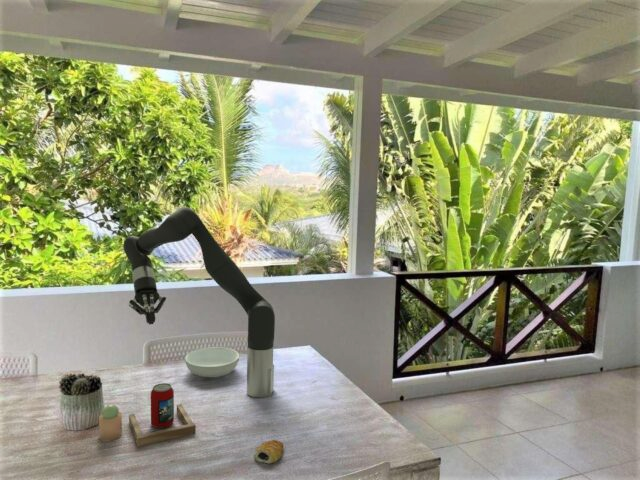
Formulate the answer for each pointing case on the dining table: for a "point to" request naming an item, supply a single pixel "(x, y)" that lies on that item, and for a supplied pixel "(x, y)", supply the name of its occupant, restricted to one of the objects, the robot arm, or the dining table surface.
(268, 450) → the pastry
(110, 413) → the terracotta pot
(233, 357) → the serving bowl
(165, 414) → the beverage can
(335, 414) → the dining table surface
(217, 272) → the robot arm
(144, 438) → the corral
